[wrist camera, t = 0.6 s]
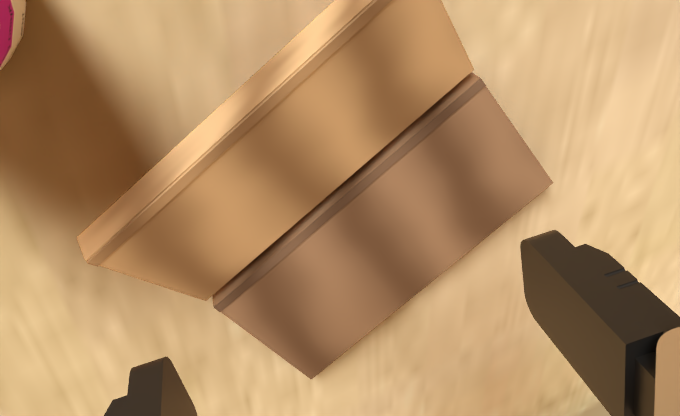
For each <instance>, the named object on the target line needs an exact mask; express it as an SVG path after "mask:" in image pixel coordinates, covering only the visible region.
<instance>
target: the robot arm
mask: <svg viewBox="0 0 680 416" xmlns="http://www.w3.org/2000/svg"><path fill="white" fill-rule="evenodd" d="M520 248H521V260H522V271H523V282H524V293H525V298H526V302H527V305H528V307H529V309H530V312H531V314H532V315H533V317H534V319H535V320H536V321H537V323H538V324H539V325H540V327H541V328H542V329H543V330H544V332H545V333H546V334H547V335H548V337H549V338H550V339H551V340H552V342H553V343H554V344H555V345H556V347H557V348H558V349H559V351H560V352H561V353H562V354H563V356H564V357H565V358H566V359H567V361H568V362H569V363H570V364H571V366H572V367H573V368H574V369H575V371H576V372H577V373H578V374H579V376H580V377H581V378H582V380H583V381H584V382H585V383H586V385H587V386H588V387H589V388H590V390H591V391H592V392H593V393H594V395H595V396H596V397H597V398H598V400H599V401H600V402H601V404H602V405H603V406H604V407H605V409H606V410H607V411H608V412H609V414H610V415H611V416H680V317H679V316H678V315H677V314H676V313H675V312H673V311H672V310H671V309H670V308H669V307H668V306H667V305H666V304H664V303H663V302H662V301H661V300H660V299H659V298H658V297H657V296H655V295H654V294H653V293H652V292H651V291H650V290H649V289H648V288H646V287H645V286H644V285H643V284H642V283H641V282H640V283H639V282H638V281H637V279H636V278H635V277H634V276H633V275H632V274H631V273H630V272H628V271H625V269H624V267H623V266H622V265H621V264H619V263H618V262H617V261H616V260H615V259H614V258H613V257H612V256H610V255H609V254H608V253H606V252H603V251H601V250H599V249H596V248H594V247H592V246H589V245H587V244H584V245H581V246H578V247H574V246H573V245H572V244H571V243H570V242H569V241H568V240H567V239H566V238H565V237H564V236H563V235H562V234H560V233H559V232H558V231H556V230H552V231H549V232H546V233H543V234H540V235H537V236H534V237H531V238H528V239H525V240H523V241H522V242H521V247H520ZM104 416H197V412H196V410H195V407H194V405H193V402H192V400H191V399H190V397H189V395H188V393H187V391H186V389H185V387H184V385H183V383H182V381H181V379H180V377H179V375H178V373H177V371H176V369H175V367H174V366H173V364H172V362H171V360H170V359H169V358H168V357H164V358H161V359H158V360H155V361H152V362H148V363H145V364H142V365H139V366H136V367H133V368H132V369H131V371H130V376H129V385H128V394H127V396H124V397H121V398H118V399H115V400H113V401H112V402H111V404H110V406H109V408H108V409H107V411H106V413H105V415H104Z"/></svg>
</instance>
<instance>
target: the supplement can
mask: <svg viewBox="0 0 680 416" xmlns="http://www.w3.org/2000/svg"><path fill="white" fill-rule="evenodd" d="M25 12H26V1H25V0H0V70H1V69H2V68H3V67H4V66H5V65H6V64H7V63H8V62H9V60H10V58H11V57H12V55H13V53H14V51H15V49H16V47H17V46H18V44H19V42H20V40H21V38H22V37H23V33H24V22H25Z"/></svg>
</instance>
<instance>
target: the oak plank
mask: <svg viewBox="0 0 680 416" xmlns="http://www.w3.org/2000/svg"><path fill="white" fill-rule="evenodd" d="M473 70H474V68H473V66H472V64H471V62H470V60H469V58H468V56H467V53H466V51H465V49H464V47H463V45H462V43H461V41H460V39H459V37H458V35H457V33H456V31H455V28H454V26H453V24H452V22H451V20H450V18H449V16H448V14H447V12H446V10H445V8H444V5H443V3H442V1H441V0H335V1H334V2H333V3H331V4H330V5H329V6H328V7H327V8H326V9H325V10H324V11H323V12H322V13H321V14H319V15H318V16H317V17H316V18H315V19H314V20H313V21H312V22H311V23H310V24H309V25H307V26H306V27H305V28H304V29H303V30H302V31H301V32H300V33H299V34H298V35H297V36H296V37H294V38H293V39H292V40H291V41H290V42H289V43H288V44H287V45H286V46H285V47H284V48H282V49H281V50H280V51H279V52H278V53H277V54H276V55H275V56H274V57H273V58H272V59H270V60H269V61H268V62H267V63H266V64H265V65H264V66H263V67H262V68H261V69H260V70H258V71H257V72H256V73H255V74H254V75H253V76H252V77H251V78H250V79H249V80H248V81H247V82H245V83H244V84H243V85H242V86H241V87H240V88H239V89H238V90H237V91H236V92H235V93H233V94H232V95H231V96H230V97H229V98H228V99H227V100H226V101H225V102H224V103H223V104H221V105H220V106H219V107H218V108H217V109H216V110H215V111H214V112H213V113H212V114H211V115H209V116H208V117H207V118H206V119H205V120H204V121H203V122H202V123H201V124H200V125H199V126H197V127H196V128H195V129H194V130H193V131H192V132H191V133H190V134H189V135H188V136H187V137H186V138H184V139H183V140H182V141H181V142H180V143H179V144H178V145H177V146H176V147H175V148H174V149H172V150H171V151H170V152H169V153H168V154H167V155H166V156H165V157H164V158H163V159H162V160H160V161H159V162H158V163H157V164H156V165H155V166H154V167H153V168H152V169H151V170H150V171H148V172H147V173H146V174H145V175H144V176H143V177H142V178H141V179H140V180H139V181H138V182H137V183H135V184H134V185H133V186H132V187H131V188H130V189H129V190H128V191H127V192H126V193H125V194H123V195H122V196H121V197H120V198H119V199H118V200H117V201H116V202H115V203H114V204H113V205H111V206H110V207H109V208H108V209H107V210H106V211H105V212H104V213H103V214H102V215H101V216H99V217H98V218H97V219H96V220H95V221H94V222H93V223H92V224H91V225H90V226H89V227H87V228H86V229H85V230H84V231H83V232H82V233H81V234H80V235H79V236H78V237H77V240H78V243H79V246H80V248H81V251H82V254H83V257H84V259H85V261H87V263H89V264H92V265H95V266H98V265H99V266H102V267H105V268H108V269H111V270H114V271H117V272H120V273H123V274H126V275H129V276H132V277H135V278H138V279H141V280H144V281H148V282H151V283H154V284H157V285H160V286H163V287H166V288H169V289H172V290H175V291H178V292H181V293H184V294H187V295H190V296H193V297H196V298H199V299H202V300H205V301H206V300H208V299H209V298H210V297H211V296H212V295H213V294H214V293H216V292H217V291H218V290H219V289H220V288H221V287H223V286H224V285H225V284H226V283H227V282H228V281H230V280H231V279H232V278H233V277H234V276H235V275H237V274H238V273H239V272H240V271H241V270H242V269H243V268H245V267H246V266H247V265H248V264H249V263H250V262H252V261H253V260H254V259H255V258H256V257H257V256H259V255H260V254H261V253H262V252H263V251H264V250H266V249H267V248H268V247H269V246H270V245H271V244H272V243H274V242H275V241H276V240H277V239H278V238H279V237H281V236H282V235H283V234H284V233H285V232H286V231H288V230H289V229H290V228H291V227H292V226H293V225H295V224H296V223H297V222H298V221H299V220H300V219H301V218H303V217H304V216H305V215H306V214H307V213H308V212H310V211H311V210H312V209H313V208H314V207H315V206H317V205H318V204H319V203H320V202H321V201H322V200H324V199H325V198H326V197H327V196H328V195H329V194H330V193H332V192H333V191H334V190H335V189H336V188H337V187H339V186H340V185H341V184H342V183H343V182H344V181H346V180H347V179H348V178H349V177H350V176H351V175H353V174H354V173H355V172H356V171H357V170H358V169H359V168H361V167H362V166H363V165H364V164H365V163H366V162H368V161H369V160H370V159H371V158H372V157H373V156H375V155H376V154H377V153H378V152H379V151H380V150H381V149H383V148H384V147H385V146H386V145H387V144H388V143H390V142H391V141H392V140H393V139H394V138H395V137H397V136H398V135H399V134H400V133H401V132H402V131H404V130H405V129H406V128H407V127H408V126H409V125H410V124H412V123H413V122H414V121H415V120H416V119H417V118H419V117H420V116H421V115H422V114H423V113H424V112H426V111H427V110H428V109H429V108H430V107H431V106H433V105H434V104H435V103H436V102H437V101H438V100H439V99H441V98H442V97H443V96H444V95H445V94H446V93H448V92H449V91H450V90H451V89H452V88H453V87H455V86H456V85H457V84H458V83H459V82H460V81H462V80H463V79H464V78H465V77H466V76H467V75H468V74H470V73H471V72H472V71H473Z"/></svg>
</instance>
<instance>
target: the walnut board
mask: <svg viewBox="0 0 680 416" xmlns="http://www.w3.org/2000/svg"><path fill="white" fill-rule="evenodd" d="M551 184H553V182H552V180H551V179H550V178H549V176H548V175H547V173H546V172H545V170H544V169H543V168H542V166H541V165H540V163H539V162H538V160H537V159H536V157H535V156H534V155H533V153H532V152H531V150H530V149H529V147H528V146H527V145H526V143H525V142H524V140H523V139H522V137H521V136H520V135H519V133H518V132H517V130H516V129H515V127H514V126H513V125H512V123H511V122H510V120H509V119H508V117H507V116H506V114H505V113H504V112H503V110H502V109H501V107H500V106H499V104H498V103H497V102H496V100H495V99H494V97H493V96H492V94H491V93H490V92H489V90H488V89H487V87H486V85H485V84H484V82H483V81H482V79H481V78H480V77H478V76H476V75H475V74H473V73H472V72H471V73H470V74H468V75H467V76H466V77H465V78H464V79H463V80H462V81H460V82H459V83H458V84H457V85H456V86H455V87H453V88H452V89H451V90H450V91H449V92H448V93H446V94H445V95H444V96H443V97H442V98H441V99H439V100H438V101H437V102H436V103H435V104H434V105H433V106H431V107H430V108H429V109H428V110H427V111H426V112H424V113H423V114H422V115H421V116H420V117H419V118H417V119H416V120H415V121H414V122H413V123H412V124H410V125H409V126H408V127H407V128H406V129H405V130H404V131H402V132H401V133H400V134H399V135H398V136H397V137H395V138H394V139H393V140H392V141H391V142H390V143H388V144H387V145H386V146H385V147H384V148H383V149H381V150H380V151H379V152H378V153H377V154H376V155H375V156H373V157H372V158H371V159H370V160H369V161H368V162H366V163H365V164H364V165H363V166H362V167H361V168H359V169H358V170H357V171H356V172H355V173H354V174H353V175H351V176H350V177H349V178H348V179H347V180H346V181H344V182H343V183H342V184H341V185H340V186H339V187H337V188H336V189H335V190H334V191H333V192H332V193H330V194H329V195H328V196H327V197H326V198H325V199H324V200H322V201H321V202H320V203H319V204H318V205H317V206H315V207H314V208H313V209H312V210H311V211H310V212H308V213H307V214H306V215H305V216H304V217H303V218H301V219H300V220H299V221H298V222H297V223H296V224H295V225H293V226H292V227H291V228H290V229H289V230H288V231H286V232H285V233H284V234H283V235H282V236H281V237H279V238H278V239H277V240H276V241H275V242H274V243H272V244H271V245H270V246H269V247H268V248H267V249H266V250H264V251H263V252H262V253H261V254H260V255H259V256H257V257H256V258H255V259H254V260H253V261H252V262H250V263H249V264H248V265H247V266H246V267H245V268H243V269H242V270H241V271H240V272H239V273H238V274H237V275H235V276H234V277H233V278H232V279H231V280H230V281H228V282H227V283H226V284H225V285H224V286H223V287H221V288H220V289H219V290H218V291H217V292H216V293H214V294H213V306H214V308H215V309H216V310H218V311H219V312H222V313H223V314H224V315H226V316H227V317H228V318H230V319H231V320H232V321H234V322H235V323H236V324H238V325H239V326H240V327H242V328H243V329H244V330H246V331H247V332H248V333H250V334H251V335H252V336H254V337H255V338H257V339H258V340H259V341H261V342H262V343H263V344H265V345H266V346H267V347H269V348H270V349H271V350H273V351H274V352H275V353H277V354H278V355H279V356H281V357H282V358H283V359H285V360H286V361H287V362H289V363H290V364H291V365H293V366H294V367H295V368H297V369H298V370H299V371H301V372H302V373H303V374H305V375H306V376H307V377H309V378H310V379H312V378H314V377H315V376H316V375H317V374H319V373H320V372H321V371H322V370H323V369H325V368H326V367H327V366H328V365H330V364H331V363H332V362H333V361H335V360H336V359H337V358H338V357H339V356H341V355H342V354H343V353H344V352H346V351H347V350H348V349H349V348H351V347H352V346H353V345H354V344H355V343H357V342H358V341H359V340H360V339H362V338H363V337H364V336H365V335H367V334H368V333H369V332H370V331H371V330H373V329H374V328H375V327H376V326H378V325H379V324H380V323H381V322H383V321H384V320H385V319H386V318H387V317H389V316H390V315H391V314H392V313H394V312H395V311H396V310H397V309H399V308H400V307H401V306H402V305H404V304H405V303H406V302H407V301H408V300H410V299H411V298H412V297H413V296H415V295H416V294H417V293H418V292H420V291H421V290H422V289H423V288H424V287H426V286H427V285H428V284H429V283H431V282H432V281H433V280H434V279H436V278H437V277H438V276H439V275H440V274H442V273H443V272H444V271H445V270H447V269H448V268H449V267H450V266H452V265H453V264H454V263H455V262H456V261H458V260H459V259H460V258H461V257H463V256H464V255H465V254H466V253H468V252H469V251H470V250H471V249H472V248H474V247H475V246H476V245H477V244H479V243H480V242H481V241H482V240H484V239H485V238H486V237H487V236H489V235H490V234H491V233H492V232H493V231H495V230H496V229H497V228H498V227H500V226H501V225H502V224H503V223H505V222H506V221H507V220H508V219H509V218H511V217H512V216H513V215H514V214H516V213H517V212H518V211H519V210H521V209H522V208H523V207H524V206H525V205H527V204H528V203H529V202H530V201H532V200H533V199H534V198H535V197H537V196H538V195H539V194H540V193H541V192H543V191H544V190H545V189H546V188H548V187H549V186H550V185H551Z"/></svg>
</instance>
